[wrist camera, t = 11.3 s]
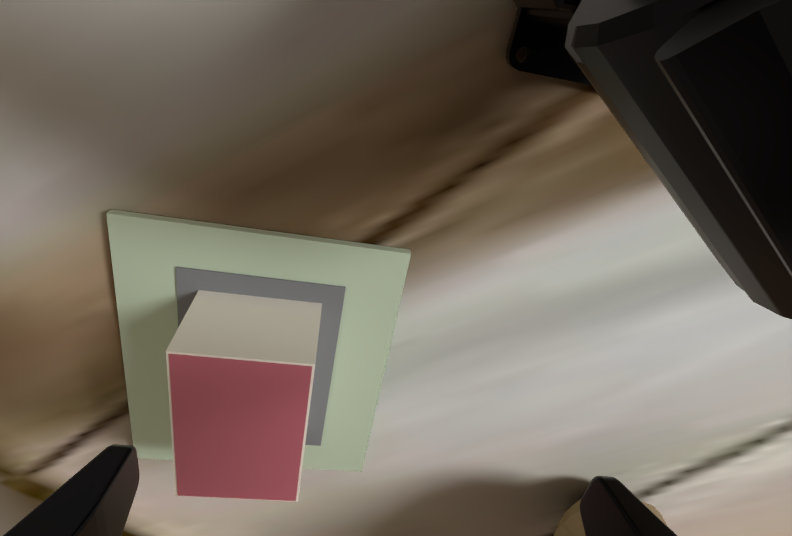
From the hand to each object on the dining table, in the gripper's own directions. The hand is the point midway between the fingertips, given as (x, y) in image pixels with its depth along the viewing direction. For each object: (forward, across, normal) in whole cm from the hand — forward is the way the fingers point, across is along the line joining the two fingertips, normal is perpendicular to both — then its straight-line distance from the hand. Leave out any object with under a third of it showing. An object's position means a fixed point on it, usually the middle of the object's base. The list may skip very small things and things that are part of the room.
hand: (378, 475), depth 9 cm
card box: (+12, +4, +8) cm, 15 cm away
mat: (+12, +4, +8) cm, 15 cm away
